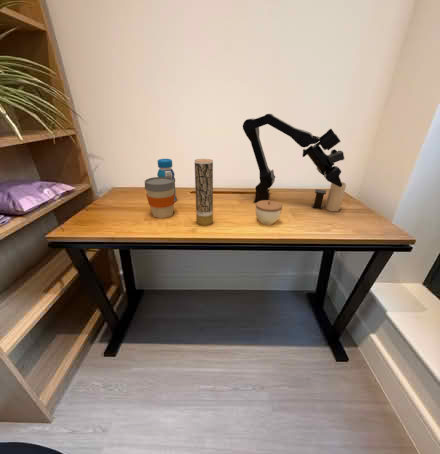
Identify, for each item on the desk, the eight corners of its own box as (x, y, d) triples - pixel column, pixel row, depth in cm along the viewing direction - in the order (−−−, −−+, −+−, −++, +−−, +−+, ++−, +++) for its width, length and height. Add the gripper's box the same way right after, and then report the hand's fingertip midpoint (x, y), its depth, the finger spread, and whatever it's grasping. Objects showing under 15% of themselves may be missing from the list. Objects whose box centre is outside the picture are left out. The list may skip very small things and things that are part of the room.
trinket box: (282, 227, 102) (285, 205, 97) (255, 226, 102) (257, 205, 97) (277, 217, 111) (280, 196, 107) (253, 216, 111) (254, 196, 107)
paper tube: (206, 227, 101) (206, 163, 89) (193, 223, 104) (190, 160, 92) (215, 221, 106) (216, 160, 94) (202, 217, 109) (201, 158, 97)
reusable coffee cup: (142, 216, 109) (137, 182, 102) (158, 207, 119) (154, 175, 112) (168, 221, 105) (164, 186, 98) (181, 211, 116) (179, 178, 108)
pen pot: (325, 210, 119) (331, 184, 113) (325, 205, 124) (331, 180, 118) (339, 212, 117) (346, 185, 111) (339, 207, 122) (346, 182, 116)
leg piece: (311, 208, 121) (315, 192, 117) (312, 204, 125) (315, 189, 121) (322, 209, 120) (325, 193, 116) (322, 206, 124) (326, 190, 120)
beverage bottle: (157, 202, 125) (152, 161, 115) (163, 197, 132) (159, 157, 122) (173, 204, 123) (170, 162, 114) (178, 198, 131) (176, 158, 121)
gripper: (341, 147, 99) (362, 176, 103) (329, 141, 115) (347, 166, 119) (317, 166, 103) (338, 194, 108) (308, 158, 120) (327, 182, 124)
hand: (338, 183), depth 115 cm, fingers open, 9 cm apart
